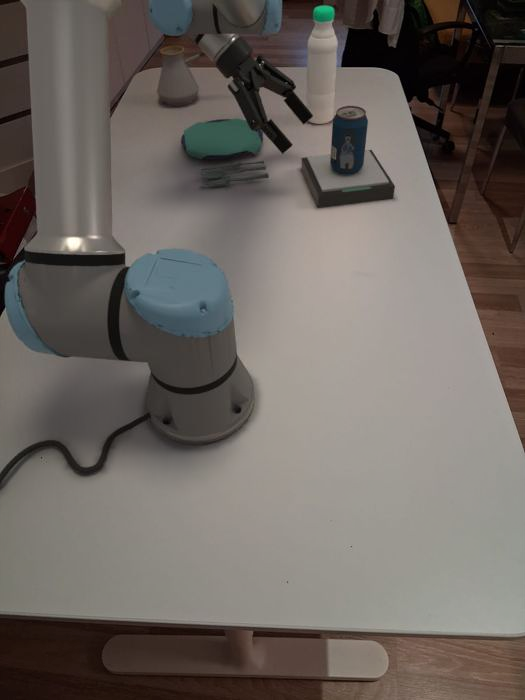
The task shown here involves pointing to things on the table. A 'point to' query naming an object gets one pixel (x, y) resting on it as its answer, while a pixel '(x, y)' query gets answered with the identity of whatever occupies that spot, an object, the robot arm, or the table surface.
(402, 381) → the table surface
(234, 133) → the cutlery set
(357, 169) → the soda can
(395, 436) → the table surface
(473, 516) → the table surface
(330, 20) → the water bottle
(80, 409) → the table surface
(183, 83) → the coffee pot
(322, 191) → the scale
